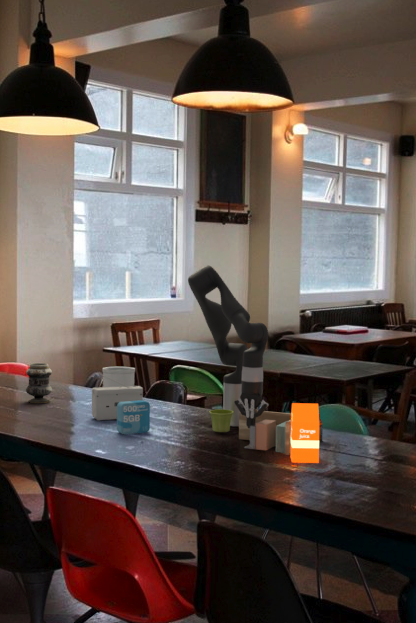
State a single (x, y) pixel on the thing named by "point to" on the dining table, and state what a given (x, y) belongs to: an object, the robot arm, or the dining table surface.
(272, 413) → the rack
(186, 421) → the dining table surface
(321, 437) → the supplement bottle
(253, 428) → the bookend
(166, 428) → the dining table surface
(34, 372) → the stone urn vase
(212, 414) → the plant pot
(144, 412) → the data package
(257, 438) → the tan rectangular block
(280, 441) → the teal book
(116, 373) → the utensil holder
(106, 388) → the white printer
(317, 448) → the orange juice
